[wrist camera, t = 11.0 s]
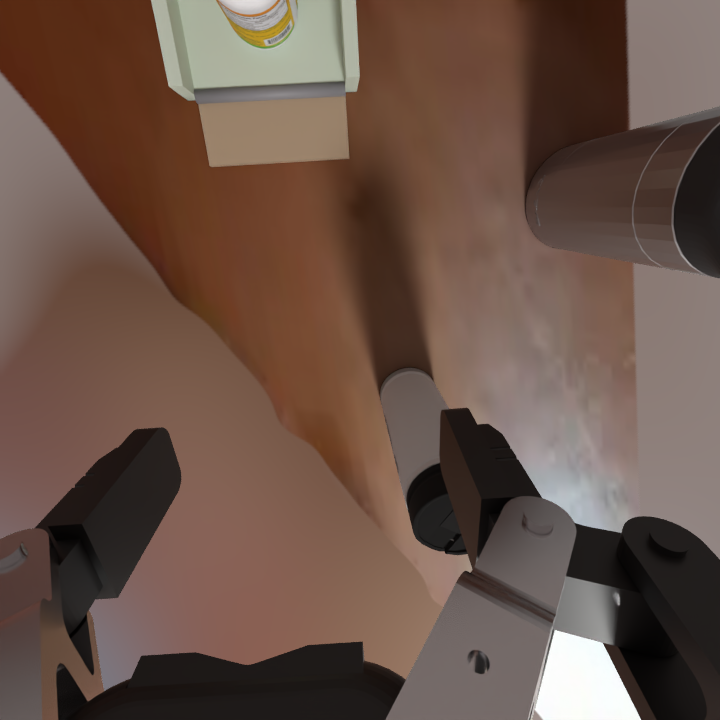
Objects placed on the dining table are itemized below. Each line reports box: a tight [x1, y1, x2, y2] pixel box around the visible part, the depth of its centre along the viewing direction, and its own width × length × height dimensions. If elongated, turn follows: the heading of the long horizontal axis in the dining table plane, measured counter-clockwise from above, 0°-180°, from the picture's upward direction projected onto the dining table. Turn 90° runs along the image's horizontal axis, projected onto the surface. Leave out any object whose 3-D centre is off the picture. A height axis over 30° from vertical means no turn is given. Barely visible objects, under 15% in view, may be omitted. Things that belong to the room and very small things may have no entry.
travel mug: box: [380, 368, 468, 555], centre depth 34 cm, size 6×7×20 cm
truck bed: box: [151, 0, 360, 167], centre depth 29 cm, size 14×17×4 cm
